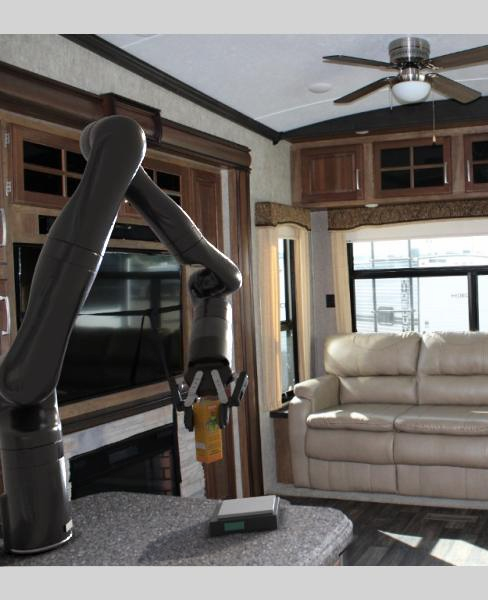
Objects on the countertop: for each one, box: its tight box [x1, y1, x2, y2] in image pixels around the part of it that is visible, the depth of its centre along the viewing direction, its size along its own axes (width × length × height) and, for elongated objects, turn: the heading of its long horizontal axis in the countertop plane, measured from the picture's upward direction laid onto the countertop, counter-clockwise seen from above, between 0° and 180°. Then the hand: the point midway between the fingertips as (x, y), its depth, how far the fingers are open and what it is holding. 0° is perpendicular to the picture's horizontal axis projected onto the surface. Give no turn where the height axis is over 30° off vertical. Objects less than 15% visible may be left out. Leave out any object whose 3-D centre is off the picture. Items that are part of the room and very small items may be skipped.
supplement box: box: [193, 399, 223, 464], centre depth 114 cm, size 3×3×10 cm
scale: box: [209, 494, 281, 537], centre depth 116 cm, size 11×9×3 cm
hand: (206, 427), depth 112 cm, fingers closed on supplement box, 4 cm apart
